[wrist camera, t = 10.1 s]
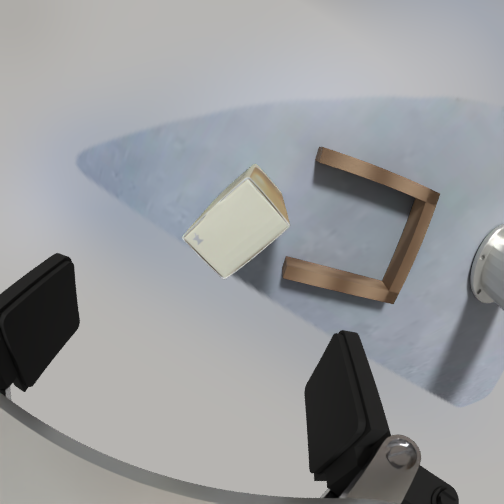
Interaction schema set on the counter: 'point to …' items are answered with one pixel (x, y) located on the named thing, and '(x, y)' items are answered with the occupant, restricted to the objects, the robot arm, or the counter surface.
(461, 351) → the counter surface
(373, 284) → the open wooden u frame
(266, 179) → the skincare box
